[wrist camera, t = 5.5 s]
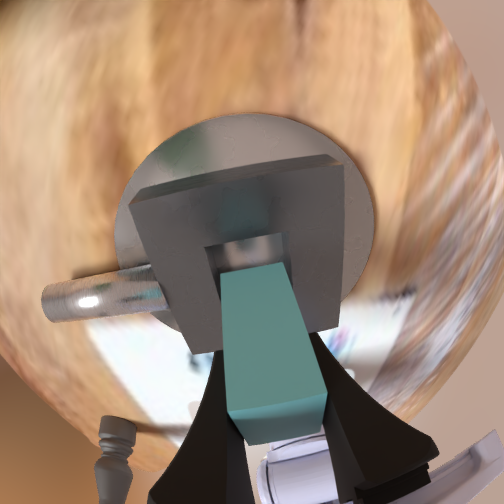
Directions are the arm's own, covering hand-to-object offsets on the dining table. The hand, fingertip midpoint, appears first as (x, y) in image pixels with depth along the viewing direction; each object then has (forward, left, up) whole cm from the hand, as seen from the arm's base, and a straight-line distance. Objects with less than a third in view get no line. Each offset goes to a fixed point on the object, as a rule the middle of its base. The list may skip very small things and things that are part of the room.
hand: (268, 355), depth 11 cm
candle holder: (-28, +26, -9) cm, 39 cm away
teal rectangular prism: (0, 0, -3) cm, 4 cm away
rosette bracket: (0, +3, -9) cm, 10 cm away
